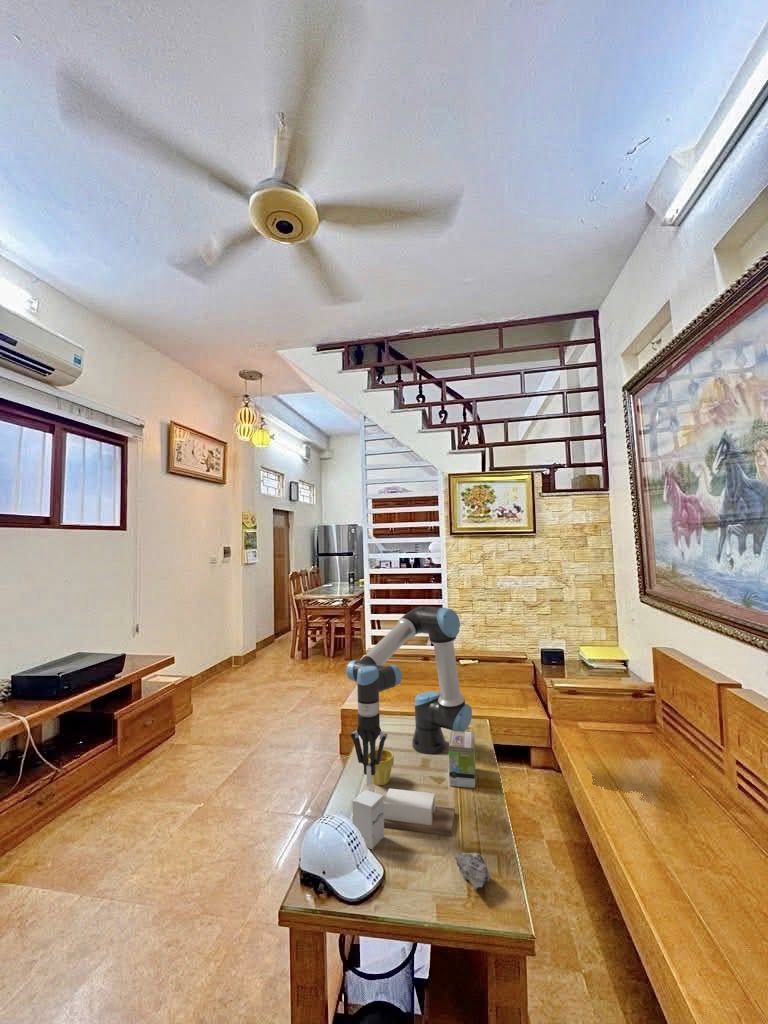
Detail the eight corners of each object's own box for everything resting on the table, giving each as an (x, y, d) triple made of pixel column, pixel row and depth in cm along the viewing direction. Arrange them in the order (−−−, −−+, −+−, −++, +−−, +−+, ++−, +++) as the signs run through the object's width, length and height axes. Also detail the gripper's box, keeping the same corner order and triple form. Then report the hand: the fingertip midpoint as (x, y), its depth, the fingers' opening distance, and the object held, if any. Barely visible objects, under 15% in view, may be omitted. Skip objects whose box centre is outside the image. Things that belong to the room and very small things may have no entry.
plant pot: (391, 789, 165) (390, 762, 165) (364, 787, 167) (364, 760, 167) (396, 775, 175) (395, 749, 175) (371, 773, 177) (370, 748, 177)
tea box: (476, 788, 163) (474, 747, 165) (449, 786, 165) (447, 746, 167) (475, 768, 178) (474, 731, 179) (451, 766, 180) (449, 729, 181)
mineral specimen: (483, 899, 119) (449, 895, 117) (478, 862, 125) (446, 858, 123) (500, 889, 113) (465, 885, 111) (494, 851, 120) (461, 846, 118)
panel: (389, 803, 153) (389, 788, 153) (435, 808, 149) (434, 793, 149) (383, 819, 144) (382, 803, 145) (431, 825, 140) (430, 808, 141)
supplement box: (372, 851, 131) (371, 807, 132) (352, 842, 135) (351, 800, 136) (385, 836, 138) (384, 795, 139) (365, 829, 142) (364, 788, 143)
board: (386, 804, 155) (386, 791, 155) (454, 813, 149) (454, 799, 149) (377, 826, 143) (377, 811, 143) (451, 836, 137) (450, 820, 138)
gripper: (347, 715, 150) (348, 787, 148) (384, 718, 147) (385, 792, 145) (354, 708, 158) (355, 776, 156) (389, 710, 154) (390, 780, 152)
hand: (369, 784), depth 150 cm, fingers closed
